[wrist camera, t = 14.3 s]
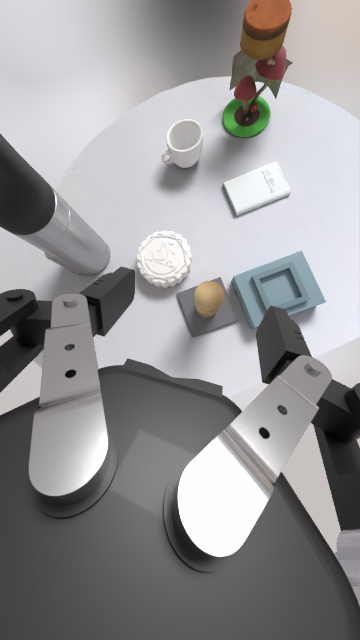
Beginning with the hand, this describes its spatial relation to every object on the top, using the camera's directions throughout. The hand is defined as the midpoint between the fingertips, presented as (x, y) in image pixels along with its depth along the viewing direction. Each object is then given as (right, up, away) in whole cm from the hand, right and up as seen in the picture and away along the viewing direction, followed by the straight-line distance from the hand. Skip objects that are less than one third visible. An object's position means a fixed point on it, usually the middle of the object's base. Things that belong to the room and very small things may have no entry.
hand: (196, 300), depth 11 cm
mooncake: (-4, +12, +33) cm, 35 cm away
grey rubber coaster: (+5, +2, +30) cm, 31 cm away
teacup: (0, +37, +35) cm, 51 cm away
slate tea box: (+19, +5, +29) cm, 35 cm away
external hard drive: (+16, +28, +33) cm, 46 cm away
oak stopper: (+5, +2, +30) cm, 30 cm away
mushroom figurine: (+15, +47, +34) cm, 60 cm away
